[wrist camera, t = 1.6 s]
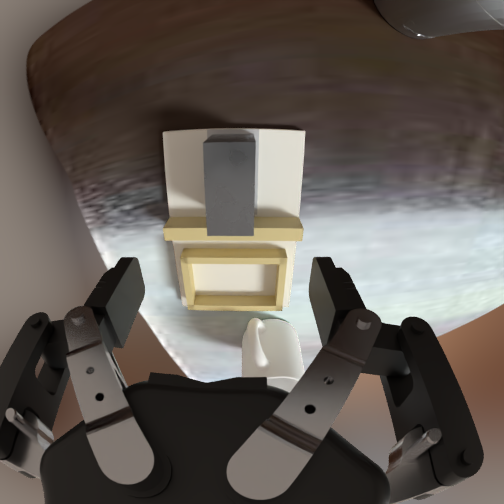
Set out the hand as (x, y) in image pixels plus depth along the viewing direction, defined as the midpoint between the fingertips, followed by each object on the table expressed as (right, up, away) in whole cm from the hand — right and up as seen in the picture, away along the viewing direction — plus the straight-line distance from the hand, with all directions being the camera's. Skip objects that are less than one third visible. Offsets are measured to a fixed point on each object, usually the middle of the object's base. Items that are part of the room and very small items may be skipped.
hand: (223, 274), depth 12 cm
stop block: (-1, +9, +15) cm, 17 cm away
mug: (+3, -10, +27) cm, 29 cm away
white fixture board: (-1, +4, +19) cm, 19 cm away
